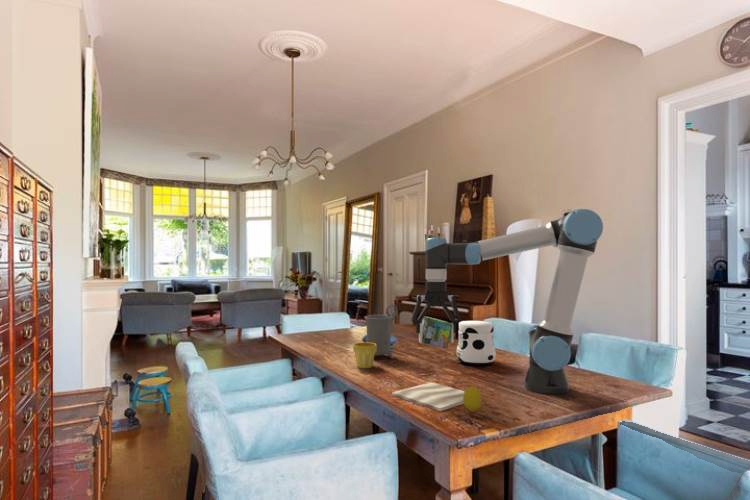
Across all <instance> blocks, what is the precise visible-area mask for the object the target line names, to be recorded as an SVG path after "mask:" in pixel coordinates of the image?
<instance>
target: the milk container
mask: <svg viewBox="0 0 750 500" xmlns="http://www.w3.org/2000/svg"><path fill="white" fill-rule="evenodd" d="M494 329H495V327H494V323H493V322H490V321H485V320H461V322H459V323H458V342H457V346H456V357H457V359H458V361H459V362H461V363H464V364H466V365H474V366H476V365H477V366H482V365H483V366H484V365H489V364H493V363H494V361H495V360H496V356H497V353H496V352H497V351H496V347H495V341H494V334H495V332H494Z"/></svg>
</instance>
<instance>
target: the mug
mask: <svg viewBox="0 0 750 500" xmlns="http://www.w3.org/2000/svg"><path fill="white" fill-rule="evenodd" d="M391 307H393V308H394V311H395V312H394V311H392V313H391V314H389V308H391ZM385 313H386V314H369V315H365V316H364V320H365V322H366V342H369V343H375V344H376V345H377V350H376V353H375V355H374V356H381V355H382V356H383V355H386V356H389V358H391V359H392V360H394V356H393V353H392V352H391V346H392V345H391V342H392V341H391V338H392V337H391V333H392V332H391V330H392V329H391V328H392V324H393V322H394V320H395V318H396V317H397V314H398V307H397V305H396V304H389V305H387V307H386V308H385Z"/></svg>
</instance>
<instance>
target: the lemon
mask: <svg viewBox="0 0 750 500" xmlns="http://www.w3.org/2000/svg"><path fill="white" fill-rule="evenodd" d="M464 391H465V392H464V396H463V401H464V404H463V405H464V406H465V408H466V409H467V410H469V411H470V412H471V413H475V411H478V409H480V407H481V406H482V399H483V398H482V393H481V392H480V390H479V389H478V388H476V387H474V386H473V385H471V386H470V387H467V388H466V389H465V390H464Z"/></svg>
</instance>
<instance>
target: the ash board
mask: <svg viewBox="0 0 750 500" xmlns="http://www.w3.org/2000/svg"><path fill="white" fill-rule="evenodd" d="M464 392H465V390H461V389H459V388H458V389H457V388H454V387H450V386H447V385H442V384H440V383H435V382H432V381H431V382H430V381H429V382H426V383H423V384H422V383H421V384H419V385H416V386H415V385H414V386H411V387H407V388H403V389H400V390H396V391H392V392H391V395H392V396H393V397H396V398H398V399H402V400H405V401H407V402H411V403H414V404H417V405H420V406H423V407H426V408H430V409H432V410H435V411H438V412H443V411H445V410H446V411H447V410H448V409H452V408H454V407H458V406H461V405H464V401H463V396H464Z"/></svg>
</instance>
